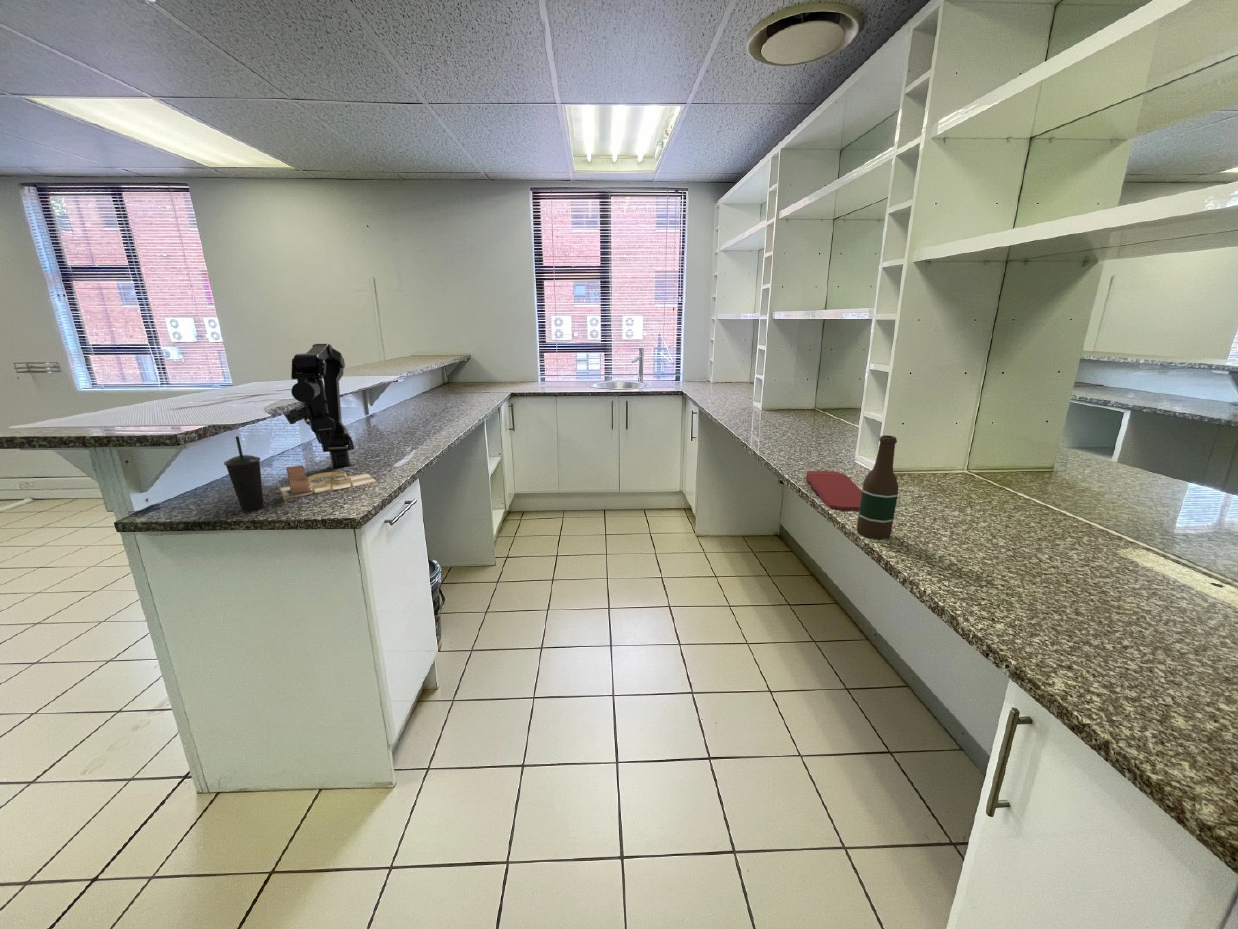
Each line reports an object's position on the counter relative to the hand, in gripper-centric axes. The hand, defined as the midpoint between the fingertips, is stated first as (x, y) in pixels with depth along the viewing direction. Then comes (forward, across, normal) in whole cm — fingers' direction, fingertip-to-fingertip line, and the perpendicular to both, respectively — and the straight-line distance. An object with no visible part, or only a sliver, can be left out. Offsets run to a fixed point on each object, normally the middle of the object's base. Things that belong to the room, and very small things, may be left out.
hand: (323, 446), depth 150 cm
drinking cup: (+11, +15, -20) cm, 27 cm away
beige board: (+11, +8, -1) cm, 14 cm away
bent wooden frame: (+11, +8, -1) cm, 14 cm away
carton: (+10, +107, +115) cm, 158 cm away
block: (+10, +9, -9) cm, 16 cm away
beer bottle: (+9, +127, +96) cm, 159 cm away
